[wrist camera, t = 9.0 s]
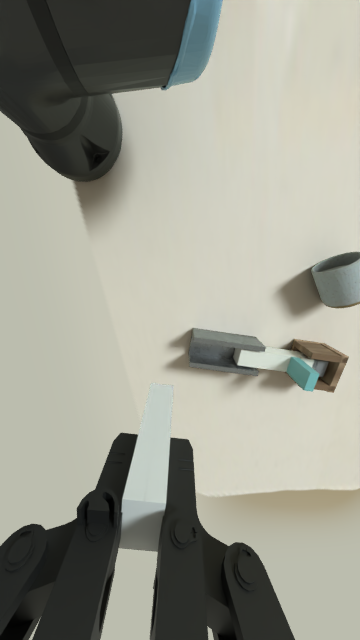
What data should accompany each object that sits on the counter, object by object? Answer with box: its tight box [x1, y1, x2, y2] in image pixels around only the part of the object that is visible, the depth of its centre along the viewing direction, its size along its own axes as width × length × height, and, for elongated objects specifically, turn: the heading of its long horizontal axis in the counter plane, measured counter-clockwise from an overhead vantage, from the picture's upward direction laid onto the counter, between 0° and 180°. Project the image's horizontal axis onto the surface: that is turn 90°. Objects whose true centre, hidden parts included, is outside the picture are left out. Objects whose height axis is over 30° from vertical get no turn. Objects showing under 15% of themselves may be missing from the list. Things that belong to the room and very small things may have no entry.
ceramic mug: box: [311, 252, 360, 308], centre depth 35 cm, size 11×8×8 cm
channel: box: [188, 328, 266, 376], centre depth 41 cm, size 6×14×6 cm, turn 82°
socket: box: [285, 339, 349, 393], centre depth 41 cm, size 8×7×6 cm
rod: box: [233, 347, 329, 391], centre depth 38 cm, size 4×18×10 cm, turn 82°
